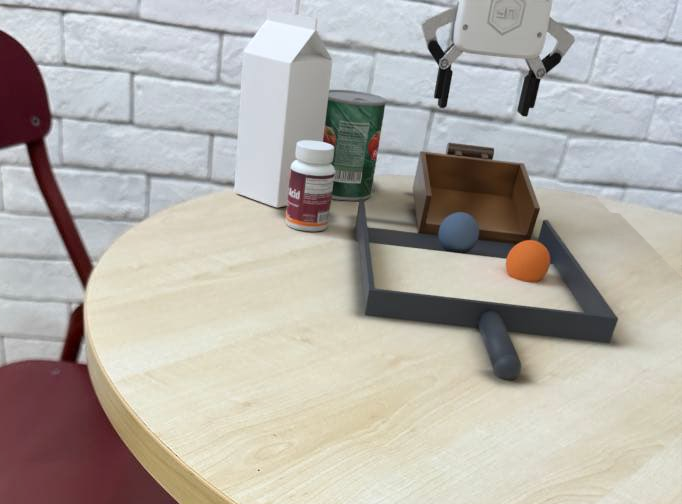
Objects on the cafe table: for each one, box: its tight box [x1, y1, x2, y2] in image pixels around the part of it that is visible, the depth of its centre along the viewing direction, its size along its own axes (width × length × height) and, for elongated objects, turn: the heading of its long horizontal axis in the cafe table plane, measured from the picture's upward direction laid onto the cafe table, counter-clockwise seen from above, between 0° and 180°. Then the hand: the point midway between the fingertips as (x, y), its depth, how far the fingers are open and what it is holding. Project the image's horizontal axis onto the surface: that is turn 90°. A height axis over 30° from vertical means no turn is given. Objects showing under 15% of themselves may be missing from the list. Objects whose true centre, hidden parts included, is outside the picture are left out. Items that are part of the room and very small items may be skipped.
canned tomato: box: [323, 89, 387, 202], centre depth 104 cm, size 8×8×11 cm
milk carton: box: [233, 8, 333, 208], centre depth 96 cm, size 7×7×19 cm
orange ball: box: [505, 239, 551, 283], centre depth 83 cm, size 4×4×4 cm
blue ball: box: [438, 212, 479, 255], centre depth 89 cm, size 4×4×4 cm
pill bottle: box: [284, 140, 335, 233], centre depth 92 cm, size 5×5×8 cm
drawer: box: [412, 142, 541, 245], centre depth 100 cm, size 13×16×5 cm
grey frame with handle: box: [354, 198, 619, 381], centre depth 79 cm, size 38×21×3 cm, turn 177°
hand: (481, 110), depth 101 cm, fingers open, 9 cm apart
